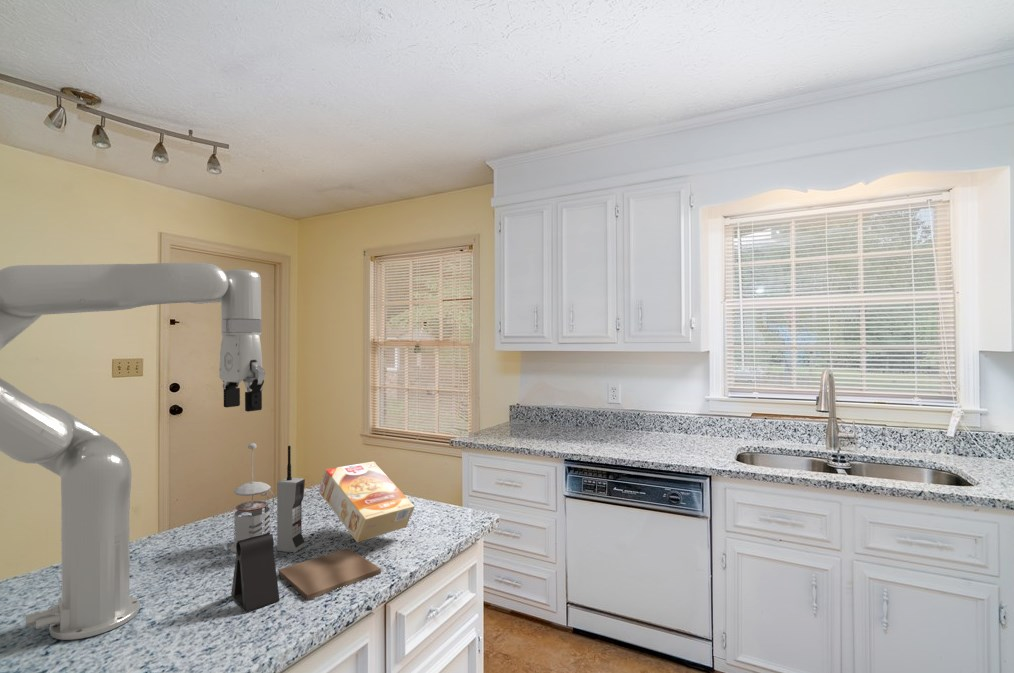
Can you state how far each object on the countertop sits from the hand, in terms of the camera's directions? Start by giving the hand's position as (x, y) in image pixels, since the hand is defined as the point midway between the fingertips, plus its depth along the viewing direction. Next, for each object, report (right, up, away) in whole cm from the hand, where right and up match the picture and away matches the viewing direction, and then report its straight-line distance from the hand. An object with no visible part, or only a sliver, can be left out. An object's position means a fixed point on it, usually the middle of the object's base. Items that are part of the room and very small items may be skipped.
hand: (242, 408), depth 107 cm
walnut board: (+18, -36, +1) cm, 40 cm away
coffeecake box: (+28, -30, +14) cm, 43 cm away
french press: (-6, -36, +18) cm, 41 cm away
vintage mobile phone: (+4, -36, +14) cm, 39 cm away
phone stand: (+7, -36, -9) cm, 38 cm away
